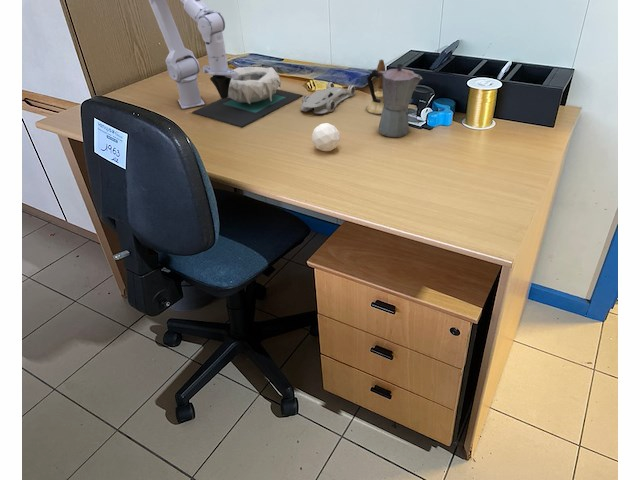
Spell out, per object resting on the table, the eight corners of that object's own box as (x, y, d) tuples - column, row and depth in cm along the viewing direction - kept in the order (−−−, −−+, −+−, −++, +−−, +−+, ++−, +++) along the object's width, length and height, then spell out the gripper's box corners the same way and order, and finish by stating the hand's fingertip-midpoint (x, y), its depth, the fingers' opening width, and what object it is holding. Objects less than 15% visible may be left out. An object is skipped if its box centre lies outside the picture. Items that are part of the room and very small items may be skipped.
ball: (333, 156, 139) (349, 135, 135) (319, 158, 133) (336, 136, 129) (316, 138, 141) (331, 117, 137) (301, 139, 134) (317, 117, 130)
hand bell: (392, 104, 161) (393, 55, 151) (392, 114, 154) (394, 63, 145) (367, 104, 162) (367, 56, 152) (366, 114, 155) (366, 64, 146)
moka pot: (417, 139, 139) (422, 70, 127) (364, 137, 142) (364, 69, 130) (418, 125, 146) (423, 58, 134) (368, 124, 149) (368, 58, 137)
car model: (357, 93, 170) (357, 79, 167) (321, 119, 154) (320, 104, 151) (330, 89, 175) (330, 75, 172) (293, 113, 159) (292, 98, 156)
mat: (242, 127, 153) (241, 126, 152) (192, 113, 165) (192, 111, 165) (302, 96, 172) (302, 95, 171) (254, 85, 184) (253, 84, 184)
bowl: (214, 110, 164) (208, 81, 158) (236, 89, 180) (232, 62, 174) (271, 113, 160) (268, 83, 154) (289, 90, 175) (286, 63, 169)
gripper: (191, 55, 151) (200, 97, 160) (223, 62, 144) (231, 105, 152) (208, 49, 156) (216, 90, 164) (240, 55, 148) (246, 98, 157)
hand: (224, 97), depth 158 cm, fingers closed
